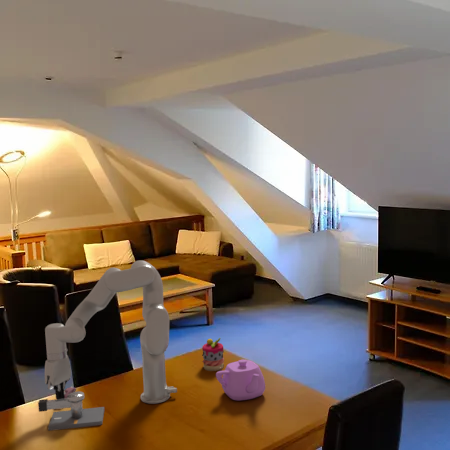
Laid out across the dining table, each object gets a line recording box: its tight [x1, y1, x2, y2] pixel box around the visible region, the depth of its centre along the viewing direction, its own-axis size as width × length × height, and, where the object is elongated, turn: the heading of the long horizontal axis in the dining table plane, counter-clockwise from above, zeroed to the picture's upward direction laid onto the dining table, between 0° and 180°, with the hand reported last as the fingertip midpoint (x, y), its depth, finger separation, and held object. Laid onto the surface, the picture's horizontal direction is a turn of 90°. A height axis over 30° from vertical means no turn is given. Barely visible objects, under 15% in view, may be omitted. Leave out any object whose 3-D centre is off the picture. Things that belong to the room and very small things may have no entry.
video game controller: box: [64, 385, 77, 399], centre depth 217 cm, size 10×5×7 cm, turn 169°
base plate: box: [47, 406, 105, 431], centre depth 200 cm, size 20×12×2 cm, turn 99°
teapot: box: [215, 358, 266, 401], centre depth 214 cm, size 23×21×15 cm
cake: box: [201, 337, 225, 372], centre depth 248 cm, size 10×10×15 cm
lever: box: [37, 391, 85, 419], centre depth 199 cm, size 17×6×9 cm, turn 99°
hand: (60, 398), depth 204 cm, fingers closed
